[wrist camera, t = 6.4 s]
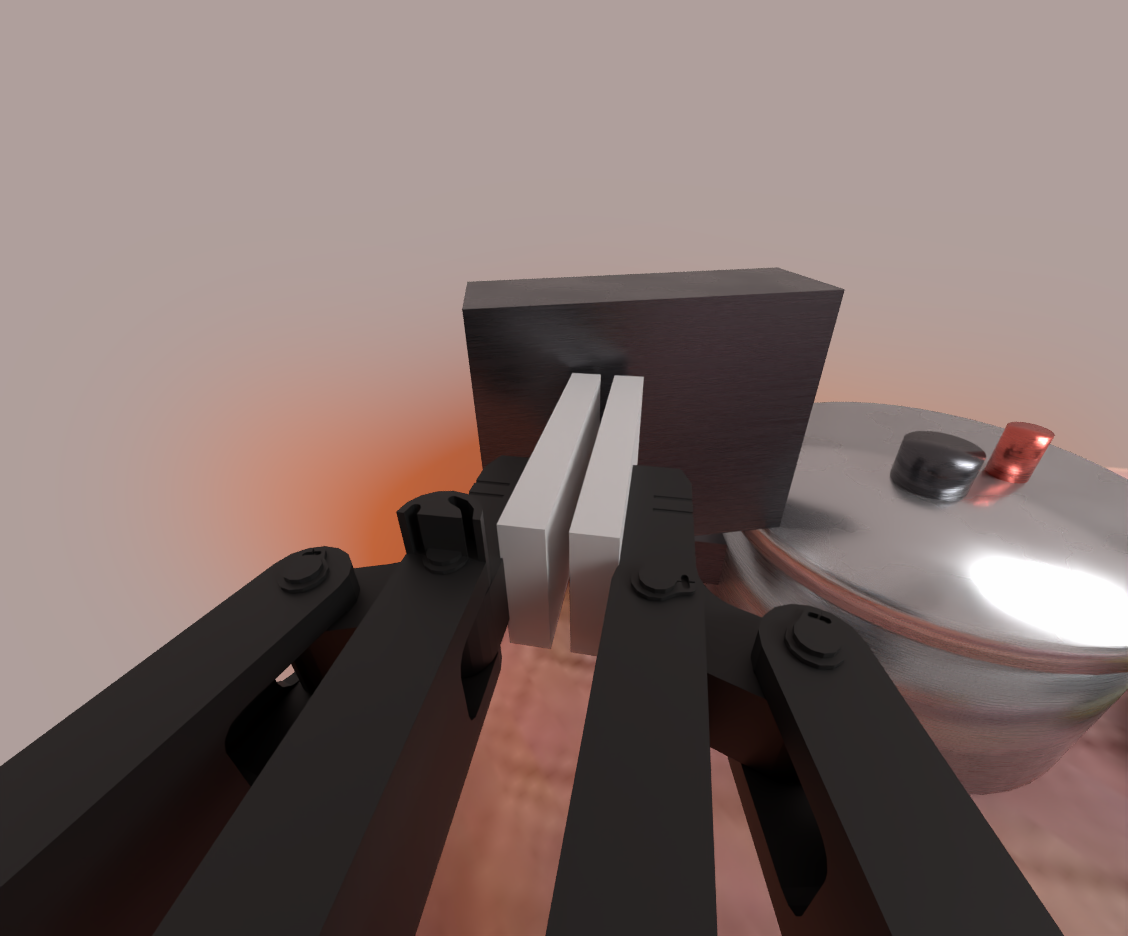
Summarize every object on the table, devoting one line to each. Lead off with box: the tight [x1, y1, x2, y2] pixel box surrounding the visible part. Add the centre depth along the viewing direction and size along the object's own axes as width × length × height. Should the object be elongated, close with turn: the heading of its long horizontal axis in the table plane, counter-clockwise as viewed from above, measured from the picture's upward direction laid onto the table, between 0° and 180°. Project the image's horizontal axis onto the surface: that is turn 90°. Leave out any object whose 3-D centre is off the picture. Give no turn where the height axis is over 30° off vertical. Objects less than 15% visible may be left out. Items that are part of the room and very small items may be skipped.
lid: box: [462, 268, 1128, 675], centre depth 17 cm, size 25×16×9 cm, turn 98°
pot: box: [694, 531, 1128, 794], centre depth 22 cm, size 26×15×7 cm, turn 78°
